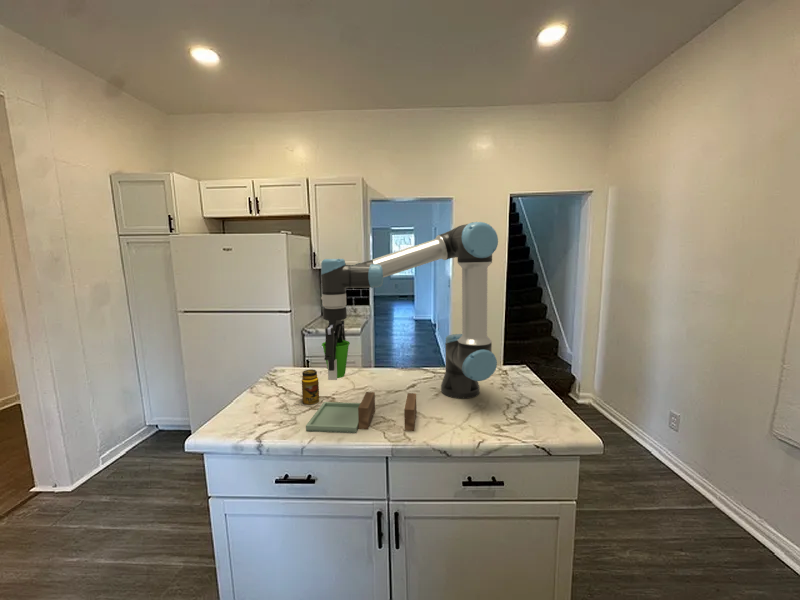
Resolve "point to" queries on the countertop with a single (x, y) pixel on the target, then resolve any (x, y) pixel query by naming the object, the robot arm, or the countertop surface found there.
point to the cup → (340, 357)
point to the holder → (368, 410)
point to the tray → (335, 418)
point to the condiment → (310, 389)
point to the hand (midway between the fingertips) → (337, 374)
